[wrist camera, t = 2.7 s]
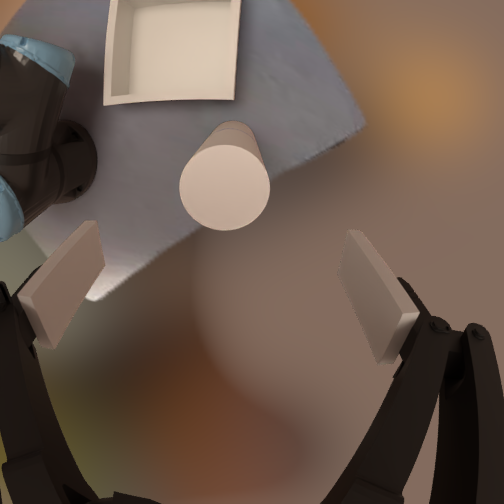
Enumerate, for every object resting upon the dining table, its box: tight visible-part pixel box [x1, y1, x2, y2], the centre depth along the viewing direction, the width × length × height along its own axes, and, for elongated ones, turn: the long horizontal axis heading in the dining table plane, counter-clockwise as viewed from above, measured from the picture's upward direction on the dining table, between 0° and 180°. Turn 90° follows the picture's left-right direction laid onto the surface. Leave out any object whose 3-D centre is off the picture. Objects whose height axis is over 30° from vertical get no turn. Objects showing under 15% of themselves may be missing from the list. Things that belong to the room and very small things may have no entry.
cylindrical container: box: [179, 121, 270, 230], centre depth 34 cm, size 7×7×25 cm
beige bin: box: [104, 0, 242, 106], centre depth 33 cm, size 18×18×8 cm
